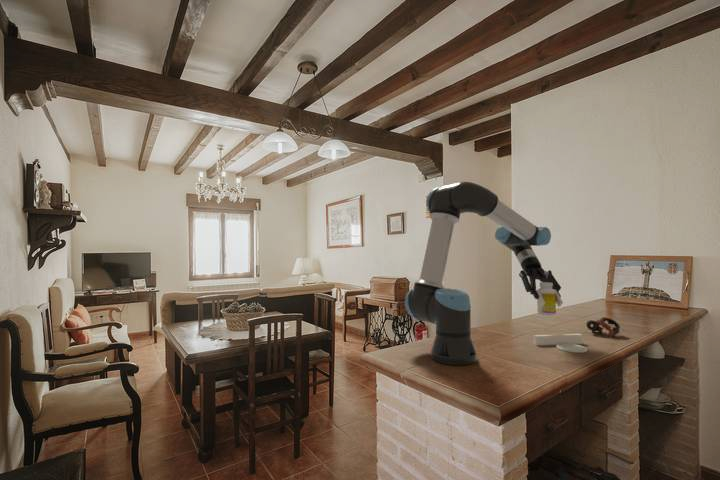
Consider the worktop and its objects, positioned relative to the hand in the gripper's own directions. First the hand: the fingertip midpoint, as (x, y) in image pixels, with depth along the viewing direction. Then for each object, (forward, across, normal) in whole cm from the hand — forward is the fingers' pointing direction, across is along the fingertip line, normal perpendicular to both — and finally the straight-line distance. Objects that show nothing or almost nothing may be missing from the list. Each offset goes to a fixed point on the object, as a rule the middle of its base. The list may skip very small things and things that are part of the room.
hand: (551, 304), depth 142 cm
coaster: (+17, -2, -5) cm, 17 cm away
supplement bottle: (+1, 0, -6) cm, 6 cm away
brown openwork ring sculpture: (+4, -28, -17) cm, 33 cm away
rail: (+12, -1, -9) cm, 15 cm away
